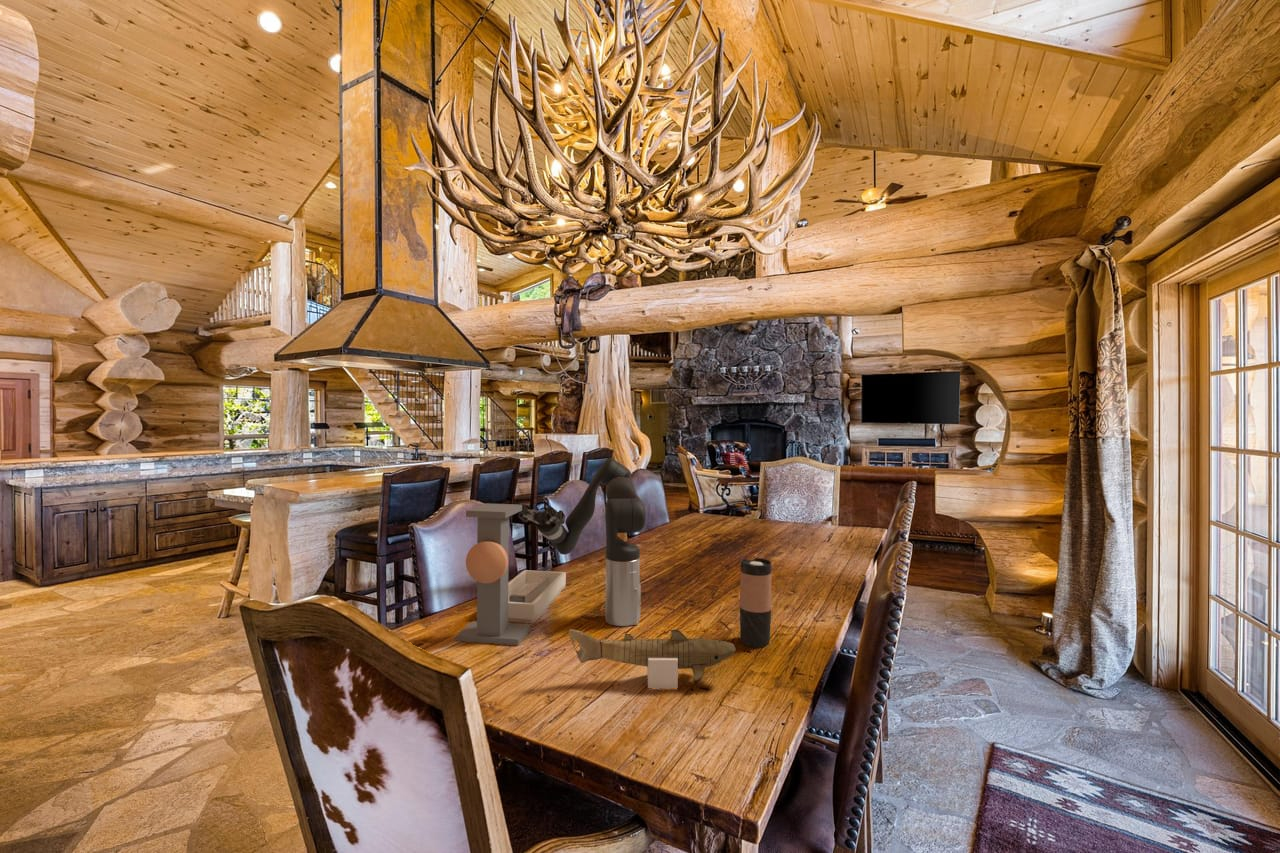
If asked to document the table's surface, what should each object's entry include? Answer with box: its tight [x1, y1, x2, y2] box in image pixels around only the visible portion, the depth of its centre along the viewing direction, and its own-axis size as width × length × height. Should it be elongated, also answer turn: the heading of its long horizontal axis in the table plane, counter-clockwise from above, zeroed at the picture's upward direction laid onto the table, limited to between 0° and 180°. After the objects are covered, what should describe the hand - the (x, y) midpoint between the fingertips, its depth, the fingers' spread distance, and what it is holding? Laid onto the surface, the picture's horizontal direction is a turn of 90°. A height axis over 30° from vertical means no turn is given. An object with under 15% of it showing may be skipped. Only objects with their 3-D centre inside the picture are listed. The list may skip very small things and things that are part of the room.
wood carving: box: [568, 629, 736, 690], centre depth 110 cm, size 9×35×11 cm, turn 91°
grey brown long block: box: [509, 576, 549, 603], centre depth 158 cm, size 4×22×4 cm, turn 169°
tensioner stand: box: [455, 502, 532, 647], centre depth 132 cm, size 16×11×32 cm
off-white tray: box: [508, 569, 567, 624], centre depth 157 cm, size 14×30×5 cm, turn 172°
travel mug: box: [739, 557, 772, 648], centre depth 130 cm, size 8×8×20 cm
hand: (535, 508), depth 162 cm, fingers open, 8 cm apart
